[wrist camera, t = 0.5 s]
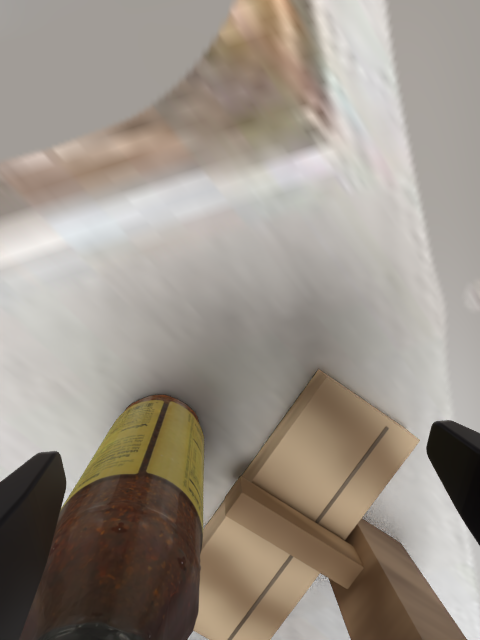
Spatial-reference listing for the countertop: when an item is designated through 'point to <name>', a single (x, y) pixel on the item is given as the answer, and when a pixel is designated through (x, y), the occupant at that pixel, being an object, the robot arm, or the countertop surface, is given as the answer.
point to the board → (297, 506)
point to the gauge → (351, 569)
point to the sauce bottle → (129, 534)
